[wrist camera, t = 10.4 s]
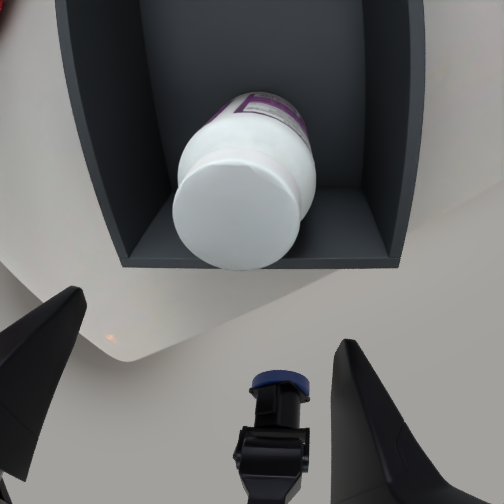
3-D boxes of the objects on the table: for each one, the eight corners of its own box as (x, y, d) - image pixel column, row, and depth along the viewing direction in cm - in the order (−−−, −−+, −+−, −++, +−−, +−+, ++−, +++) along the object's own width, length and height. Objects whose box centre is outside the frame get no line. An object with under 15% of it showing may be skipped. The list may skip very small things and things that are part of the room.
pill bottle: (239, 189, 19) (202, 302, 12) (198, 114, 17) (118, 185, 9) (321, 158, 18) (344, 263, 10) (285, 75, 15) (280, 106, 7)
